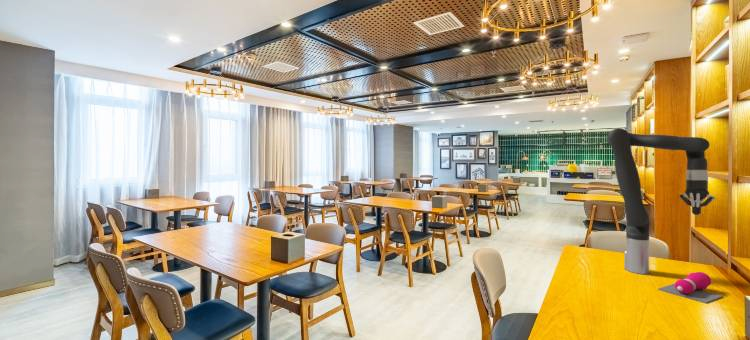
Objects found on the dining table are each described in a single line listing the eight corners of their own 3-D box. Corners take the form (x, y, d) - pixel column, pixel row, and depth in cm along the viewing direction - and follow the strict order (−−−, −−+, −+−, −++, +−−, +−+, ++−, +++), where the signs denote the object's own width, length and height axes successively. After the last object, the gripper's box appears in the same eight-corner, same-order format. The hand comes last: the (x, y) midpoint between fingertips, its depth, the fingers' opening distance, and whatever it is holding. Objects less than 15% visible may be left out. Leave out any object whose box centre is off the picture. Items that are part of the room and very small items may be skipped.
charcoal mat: (657, 289, 145) (657, 288, 145) (675, 284, 151) (675, 283, 151) (706, 303, 131) (706, 302, 131) (723, 297, 137) (723, 295, 137)
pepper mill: (717, 280, 141) (694, 290, 133) (705, 290, 145) (682, 301, 137) (699, 267, 146) (675, 276, 138) (687, 277, 150) (664, 287, 142)
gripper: (675, 178, 163) (675, 213, 163) (711, 179, 151) (711, 217, 151) (683, 178, 166) (683, 212, 166) (719, 179, 154) (718, 216, 154)
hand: (696, 214), depth 159 cm, fingers closed
